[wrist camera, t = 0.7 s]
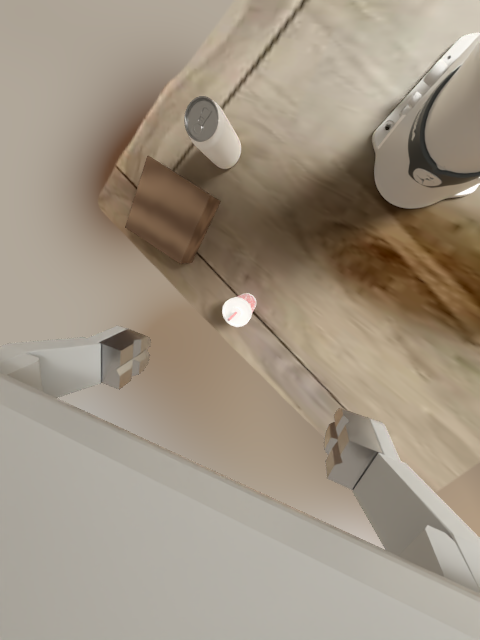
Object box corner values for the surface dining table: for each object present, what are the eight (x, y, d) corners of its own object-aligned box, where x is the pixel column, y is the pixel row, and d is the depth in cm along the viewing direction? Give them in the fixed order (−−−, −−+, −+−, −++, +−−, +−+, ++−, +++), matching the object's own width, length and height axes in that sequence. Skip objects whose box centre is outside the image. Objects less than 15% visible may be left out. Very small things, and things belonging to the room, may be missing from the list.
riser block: (165, 165, 49) (147, 155, 44) (221, 201, 48) (210, 195, 43) (143, 229, 55) (125, 227, 50) (192, 262, 54) (180, 263, 49)
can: (205, 156, 46) (174, 127, 35) (223, 124, 44) (195, 81, 33) (229, 176, 46) (205, 154, 35) (248, 145, 44) (229, 109, 33)
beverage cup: (254, 318, 54) (238, 340, 41) (231, 309, 55) (208, 327, 42) (263, 295, 52) (249, 311, 39) (239, 285, 52) (218, 298, 40)
